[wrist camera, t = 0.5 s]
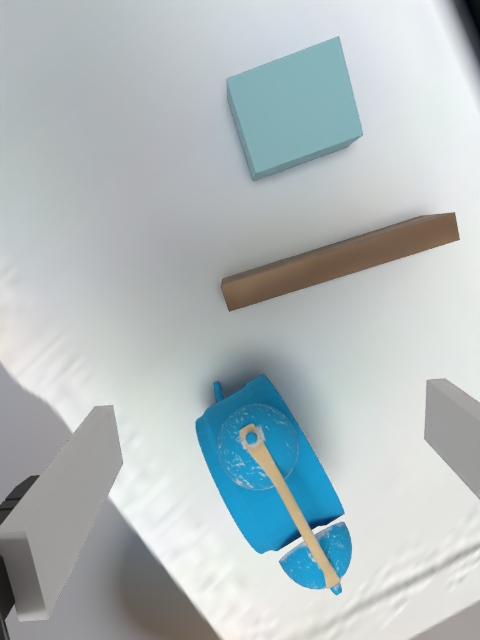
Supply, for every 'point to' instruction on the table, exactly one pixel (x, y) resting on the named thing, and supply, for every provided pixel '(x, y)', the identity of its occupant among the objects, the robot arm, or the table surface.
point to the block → (294, 108)
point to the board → (339, 259)
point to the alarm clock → (275, 483)
